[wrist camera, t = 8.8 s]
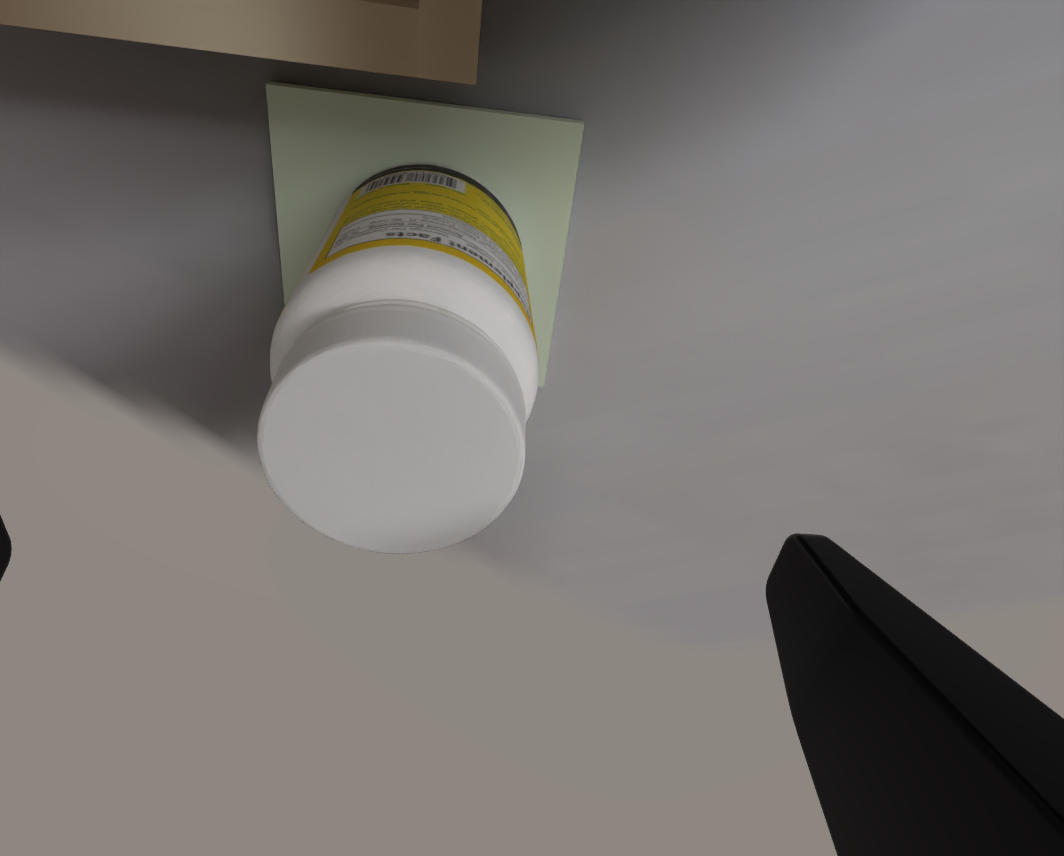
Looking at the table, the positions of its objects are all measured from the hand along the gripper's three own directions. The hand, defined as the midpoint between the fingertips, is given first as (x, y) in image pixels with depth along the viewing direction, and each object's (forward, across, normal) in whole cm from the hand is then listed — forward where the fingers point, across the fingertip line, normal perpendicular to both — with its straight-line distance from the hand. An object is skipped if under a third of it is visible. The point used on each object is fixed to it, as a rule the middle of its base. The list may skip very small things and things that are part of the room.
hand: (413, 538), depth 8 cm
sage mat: (+11, +1, +1) cm, 11 cm away
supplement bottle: (+11, +1, +1) cm, 11 cm away
